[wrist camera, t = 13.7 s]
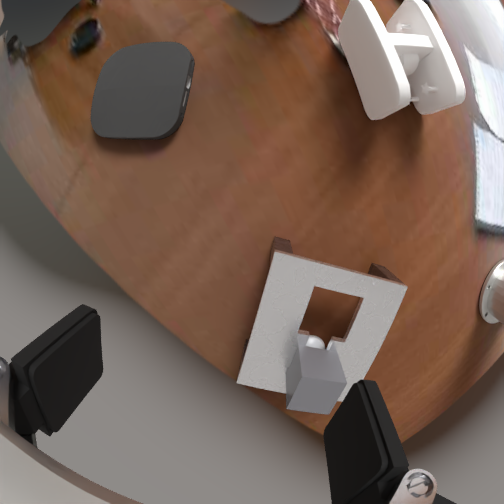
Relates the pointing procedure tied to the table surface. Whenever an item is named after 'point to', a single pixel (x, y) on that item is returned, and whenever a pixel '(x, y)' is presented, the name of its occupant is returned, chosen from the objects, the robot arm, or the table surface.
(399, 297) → the miniature table
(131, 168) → the table surface
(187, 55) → the media streaming box
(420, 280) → the table surface
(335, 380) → the peg
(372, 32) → the cable organizer
